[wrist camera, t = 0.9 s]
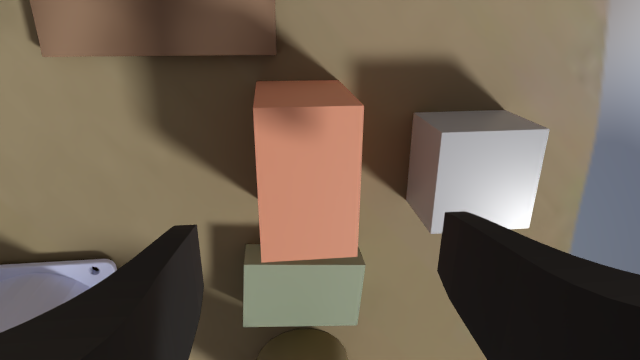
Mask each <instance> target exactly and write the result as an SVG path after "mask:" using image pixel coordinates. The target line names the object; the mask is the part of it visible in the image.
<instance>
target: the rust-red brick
mask: <svg viewBox="0 0 640 360" xmlns="http://www.w3.org/2000/svg"><path fill="white" fill-rule="evenodd" d="M253 118H254V136H255V154H256V172H257V190H258V208H259V227H260V245H261V263H263V262H279V261H295V260H312V259H328V258H344V257H357V254H358V232H359V209H360V186H361V164H362V141H363V118H364V105H363V104H362V103H361V102H360V101H359V100H358V99H357V98H356V97H355V96H354V95H353V94H352V93H351V92H350V91H349V90H348V89H347V88H346V87H345V86H344V85H343V84H342V83H341V82H340V81H339V80H310V81H256V88H255V96H254V104H253Z"/></svg>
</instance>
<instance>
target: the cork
mask: <svg viewBox="0 0 640 360" xmlns="http://www.w3.org/2000/svg"><path fill="white" fill-rule="evenodd" d="M256 360H348V357H347V353H346V350H345V348H344V346H343V345H342V344H341V342H340V341H339V340H338V339H337V338H335V337H333V336H332V335H330V334H329V333H327V332H323V331H320V330H316V329H296V330H292V331H288V332H285V333H282V334H281V335H279V336H277V337H275V338H273V339H271V340H270V341H269V342H268V343H267V344H266V345H265V346H264V347H263V348H262V349H261V351H260V353H259V355H258V357H257V359H256Z"/></svg>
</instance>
